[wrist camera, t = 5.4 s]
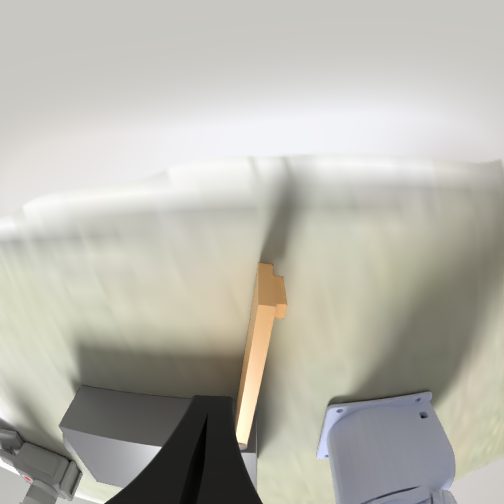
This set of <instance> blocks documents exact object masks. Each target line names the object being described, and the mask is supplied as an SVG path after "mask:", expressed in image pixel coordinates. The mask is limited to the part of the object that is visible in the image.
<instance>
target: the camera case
mask: <svg viewBox="0 0 504 504" xmlns="http://www.w3.org/2000/svg"><path fill="white" fill-rule="evenodd" d="M191 400H192V399H186V398H173V397H162V396H152V395H143V394H135V393H127V392H120V391H113V390H107V389H100V388H94V387H89V386H83V385H81V387H80V388H79V390H78V392H77V394H76V395H75V397H74V399H73V401H72V403H71V404H70V406H69V408H68V410H67V412H66V413H65V415H64V417H63V419H62V421H61V423H60V424H59V427H60V429H61V431H62V432H63V442H64V445H65V447H66V449H67V450H68V451H69V452H70V453H73V454H77V455H78V456H79V458H80V459H81V460H82V462H83V463H84V465H85V466H86V467H87V469H88V470H89V471H90V473H91V474H92V475H93V477H94V478H95V479H96V481H97V482H101V483H105V484H109V485H113V486H117V487H122V488H125V487H126V486H127V485H128V484H129V483H130V482H131V481H132V480H133V479H134V478H136V477H137V476H138V475H139V473H140V472H141V471H142V470H143V469H144V468H145V467H146V466H147V465H148V464H149V463H150V461H151V460H152V459H153V458H154V457H155V455H156V454H157V453H158V452H159V450H160V449H161V448H162V446H163V445H164V444H165V442H166V441H167V440H168V438H169V437H170V435H171V434H172V432H173V431H174V429H175V428H176V426H177V425H178V423H179V422H180V420H181V418H182V417H183V415H184V413H185V411H186V410H187V408H188V406H189V404H190V402H191ZM236 404H237V401H233V409H234V421H235V417H236ZM240 451H241V455H242V458H243V460H244V463H245V466H246V469H247V471H248V474H249V476H250V478H251V481H252V483H253V485H254V487H255V490H256V492H257V402H256V407H255V411H254V416H253V420H252V425H251V429H250V433H249V438H248V442H247V448H246V449H244V450H240Z"/></svg>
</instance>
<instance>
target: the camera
mask: <svg viewBox="0 0 504 504" xmlns="http://www.w3.org/2000/svg"><path fill="white" fill-rule="evenodd" d="M0 458H1V459H2V460H3V461H4V462H5V463H7V464H9V465H11V466H13V467H14V468H15V469H16V470H17V471H18V472H19V473H20V475H21V476H22V477H23V478H24V479H25V480H26V482H28V483H30V484H31V486H30V488H29V490H28V492H27V494H26V496H25V498H24V500H23V503H19V504H55V503H56V500H57V498H58V497H61V498H63V499H67V500H68V501H72V499H73V497H74V494H75V492H76V489H77V487H78V484H79V482H80V480H81V477H82V475H83V474H82V473H81V472H79V470H78V469H77V467H76V463H75V461H70V463H69V461H68V460H67V458H66V457H63V456H61V455H58V454H55V453H53V452H50V451H48V450H46V449H43V448H41V447H38V446H36V445H34V444H31V443H29V442H25V443H24V442H23V441H22V439H21V438H20V436H19V435H18V433H17V432H16V431H10V430H5V429H0Z"/></svg>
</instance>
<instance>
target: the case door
mask: <svg viewBox="0 0 504 504" xmlns="http://www.w3.org/2000/svg"><path fill="white" fill-rule="evenodd" d="M286 308H287V300H286V293H285V286H284V279H283V277H281V276H274V275H273V264H265V263H258V269H257V276H256V283H255V289H254V296H253V302H252V309H251V315H250V322H249V328H248V335H247V341H246V348H245V354H244V360H243V367H242V373H241V379H240V386H239V392H238V396H237V404H236V417H235V433H236V437H237V441H238V445H239V448H240V450H244V449H246V448H247V442H248V438H249V433H250V429H251V425H252V420H253V416H254V411H255V407H256V402H257V398H258V393H259V389H260V384H261V379H262V375H263V370H264V365H265V360H266V356H267V351H268V346H269V341H270V336H271V331H272V326H273V321H274V318H280V319H284V317H285V313H286Z"/></svg>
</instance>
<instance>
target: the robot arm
mask: <svg viewBox="0 0 504 504" xmlns="http://www.w3.org/2000/svg"><path fill="white" fill-rule="evenodd" d="M432 397H433V395H432V393H431V392H423V393H418V394H412V395H406V396H399V397H393V398H386V399H379V400H371V401H362V402H353V403H342V404H332V405H330V406H328V407H327V410H326V415H325V419H324V424H323V428H322V433H321V437H320V441H319V445H318V449H317V453H316V456H317V458H318V459H326V458H329V462H330V468H331V475H332V481H333V488H334V494H335V501H336V504H457V502H456V500H455V498H454V496H453V495H452V493H451V492H450V491H448V490H449V488H450V486H451V485H452V483H453V480H454V477H455V457H454V452H453V449H452V446H451V444H450V442H449V440H448V438H447V436H446V433H445V431H444V429H443V427H442V425H441V423H440V421H439V419H438V417H437V415H436V413H435V411H434V408H433V406H432V404H431V402H430V401H431V399H432ZM104 504H263V503H262V501H261V500H260V498H259V496H258V494H257V492H256V490H255V487H254V485H253V483H252V481H251V478H250V476H249V474H248V471H247V469H246V466H245V463H244V460H243V458H242V455H241V451H240V448H239V445H238V441H237V437H236V433H235V421H234V409H233V399H232V398H231V397H223V396H201V395H195V396H194V397H193V398H192V400H191V402H190V404H189V406H188V408H187V410H186V411H185V413H184V415H183V417H182V418H181V420H180V422H179V423H178V425H177V426H176V428H175V429H174V431H173V432H172V434H171V435H170V437H169V438H168V440H167V441H166V442H165V444H164V445H163V446H162V448H161V449H160V450H159V452H158V453H157V454H156V455H155V457H154V458H153V459H152V460H151V461H150V463H149V464H148V465H147V466H146V467H145V468H144V469H143V470H142V471H141V472H140V473H139V475H138V476H137V477H136V478H134V479H133V480H132V481H131V482H130V483H129V484H128V485H127V486H126V487H125V488H124V489H122V490H121V491H120V492H119V493H118V494H116V495H115V496H114V497H113V498H111V499H110V500H108V501H107V502H106V503H104Z"/></svg>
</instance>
